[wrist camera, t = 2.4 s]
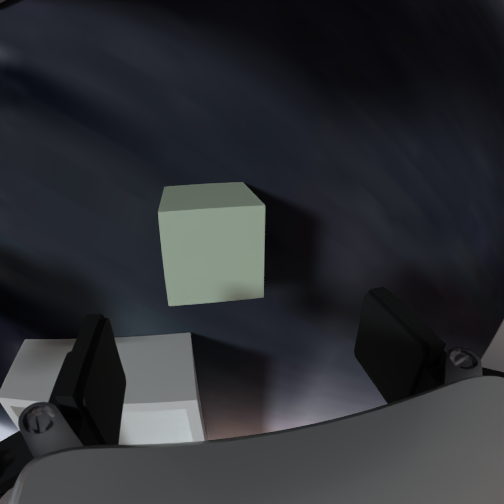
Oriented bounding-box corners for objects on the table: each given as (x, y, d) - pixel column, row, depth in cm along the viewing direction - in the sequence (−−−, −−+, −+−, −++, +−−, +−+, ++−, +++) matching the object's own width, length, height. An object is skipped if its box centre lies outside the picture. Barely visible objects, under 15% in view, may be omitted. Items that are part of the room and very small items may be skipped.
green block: (164, 186, 20) (158, 212, 14) (242, 181, 21) (265, 205, 15) (170, 259, 22) (168, 306, 16) (243, 253, 23) (263, 297, 17)
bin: (25, 339, 21) (-4, 396, 15) (190, 332, 24) (197, 399, 18) (78, 440, 27) (71, 492, 21) (206, 438, 30) (216, 493, 24)
